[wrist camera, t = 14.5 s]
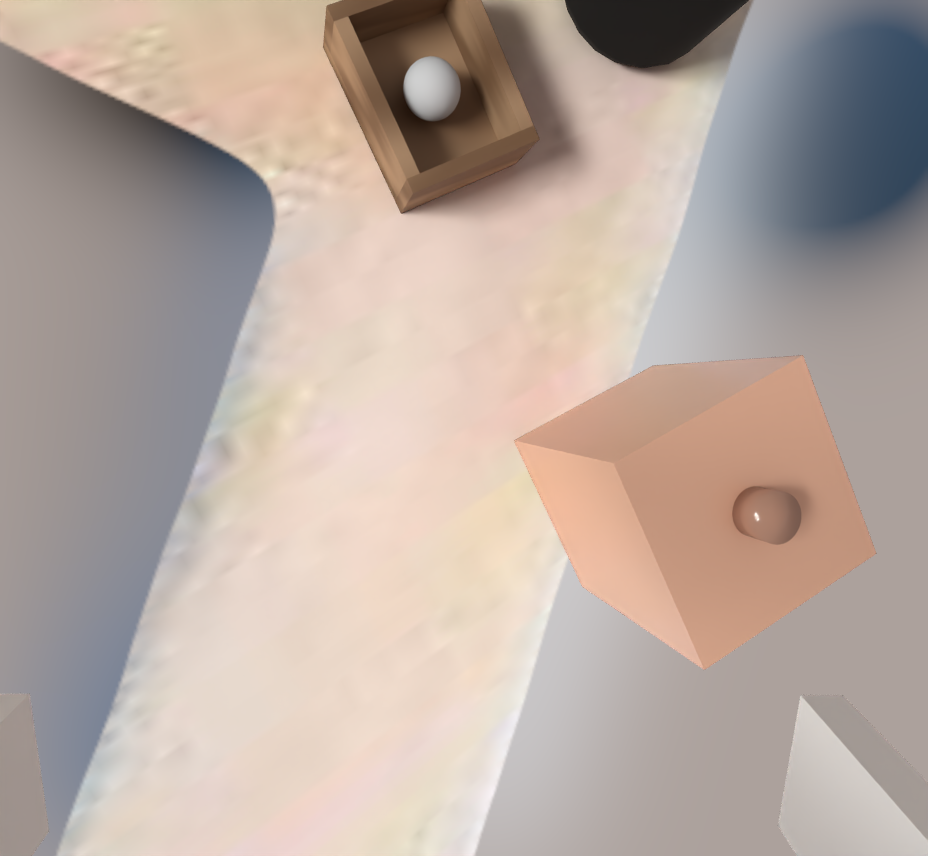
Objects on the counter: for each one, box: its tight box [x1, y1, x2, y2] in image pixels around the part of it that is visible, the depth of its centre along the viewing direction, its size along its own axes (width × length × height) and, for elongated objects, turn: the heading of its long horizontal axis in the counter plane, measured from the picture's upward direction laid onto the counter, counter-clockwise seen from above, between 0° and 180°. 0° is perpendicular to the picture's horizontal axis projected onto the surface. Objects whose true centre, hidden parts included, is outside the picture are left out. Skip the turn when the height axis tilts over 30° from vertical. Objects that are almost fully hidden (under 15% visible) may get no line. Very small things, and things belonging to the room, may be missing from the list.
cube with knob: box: [514, 355, 876, 670], centre depth 35 cm, size 11×11×15 cm
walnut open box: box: [323, 0, 539, 213], centre depth 36 cm, size 10×8×4 cm
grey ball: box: [403, 56, 461, 121], centre depth 35 cm, size 3×3×3 cm
